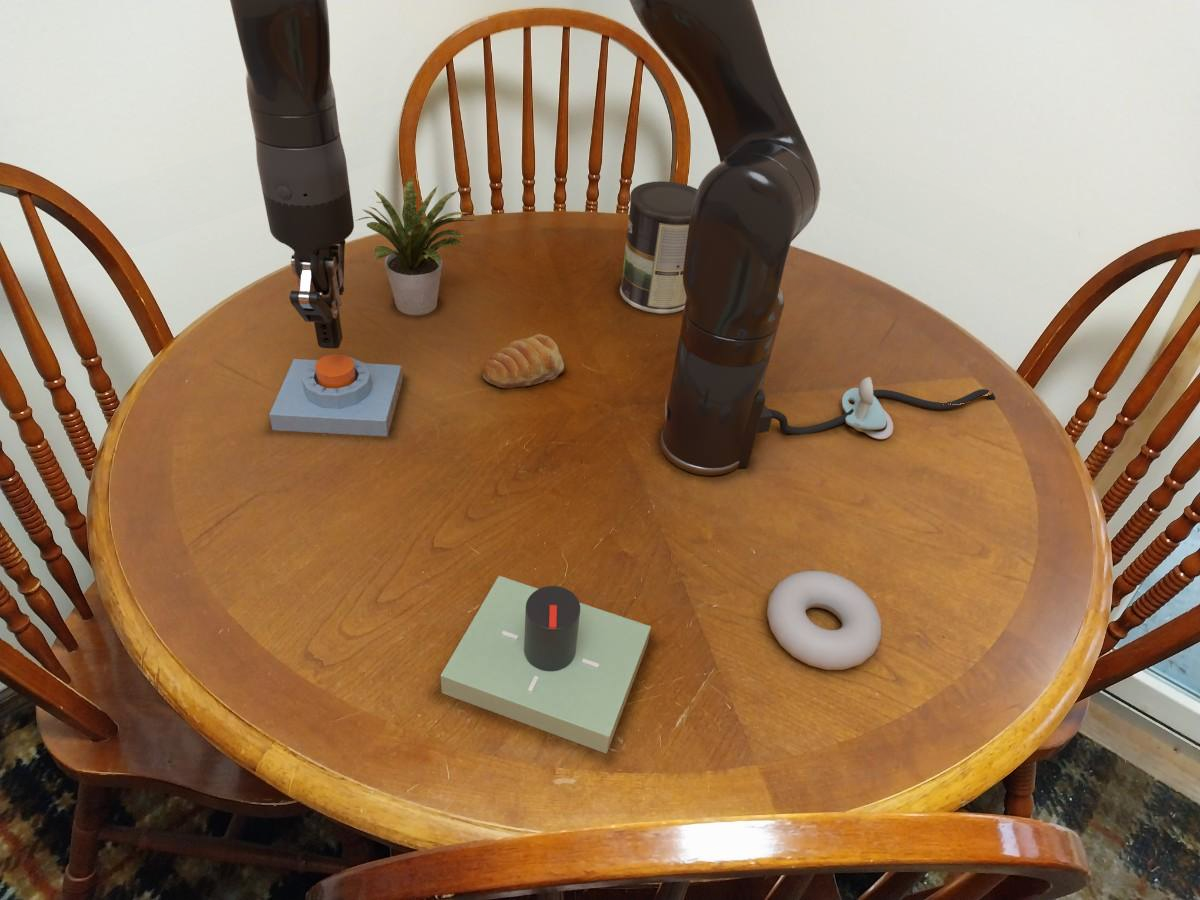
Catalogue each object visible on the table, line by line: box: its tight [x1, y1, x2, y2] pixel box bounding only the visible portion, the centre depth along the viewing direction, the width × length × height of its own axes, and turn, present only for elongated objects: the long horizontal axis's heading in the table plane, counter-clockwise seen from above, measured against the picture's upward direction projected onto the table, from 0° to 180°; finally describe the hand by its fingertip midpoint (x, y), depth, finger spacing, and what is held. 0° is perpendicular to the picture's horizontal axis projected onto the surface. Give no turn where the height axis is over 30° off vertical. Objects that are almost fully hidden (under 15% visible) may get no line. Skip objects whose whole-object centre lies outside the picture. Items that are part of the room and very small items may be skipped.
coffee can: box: [619, 180, 698, 315], centre depth 112 cm, size 10×10×14 cm
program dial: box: [524, 585, 581, 671], centre depth 67 cm, size 4×4×6 cm
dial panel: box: [440, 575, 652, 755], centre depth 69 cm, size 14×11×3 cm
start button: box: [315, 353, 356, 389], centre depth 90 cm, size 4×4×2 cm
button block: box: [268, 356, 404, 437], centre depth 92 cm, size 12×10×4 cm
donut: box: [766, 570, 882, 671], centre depth 74 cm, size 10×4×10 cm
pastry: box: [482, 333, 565, 389], centre depth 99 cm, size 9×7×4 cm
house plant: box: [355, 175, 476, 316], centre depth 103 cm, size 14×14×16 cm
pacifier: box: [841, 376, 894, 440], centre depth 97 cm, size 7×6×6 cm
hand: (330, 343), depth 88 cm, fingers closed
